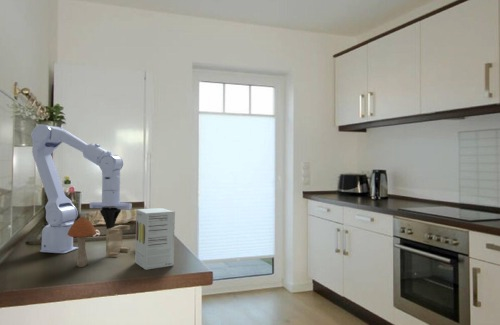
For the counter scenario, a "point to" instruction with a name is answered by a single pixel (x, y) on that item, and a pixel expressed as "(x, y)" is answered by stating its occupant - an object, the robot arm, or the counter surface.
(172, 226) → the supplement box
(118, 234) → the footstool
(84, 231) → the mushroom
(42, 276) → the counter surface
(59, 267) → the counter surface
